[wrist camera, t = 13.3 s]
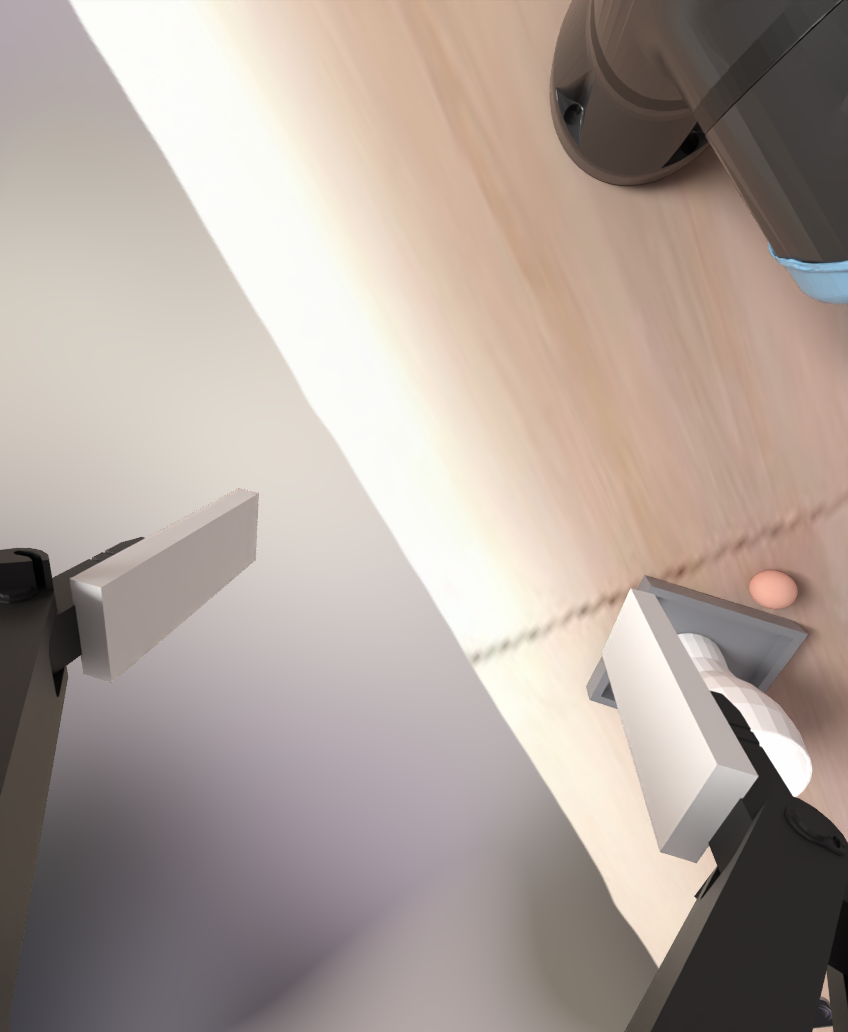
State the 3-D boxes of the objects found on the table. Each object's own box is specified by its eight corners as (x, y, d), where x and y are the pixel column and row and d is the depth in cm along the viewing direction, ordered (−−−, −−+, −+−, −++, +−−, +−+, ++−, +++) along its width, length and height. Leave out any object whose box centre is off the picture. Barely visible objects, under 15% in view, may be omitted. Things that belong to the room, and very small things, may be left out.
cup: (755, 666, 51) (848, 784, 37) (673, 709, 55) (730, 831, 41) (697, 605, 50) (771, 704, 36) (617, 654, 54) (656, 761, 40)
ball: (754, 559, 48) (774, 576, 44) (791, 570, 48) (815, 589, 44) (734, 589, 49) (753, 609, 46) (770, 601, 49) (792, 621, 45)
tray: (644, 575, 50) (651, 585, 48) (794, 621, 49) (808, 634, 47) (586, 686, 57) (589, 699, 55) (717, 729, 56) (726, 744, 54)
